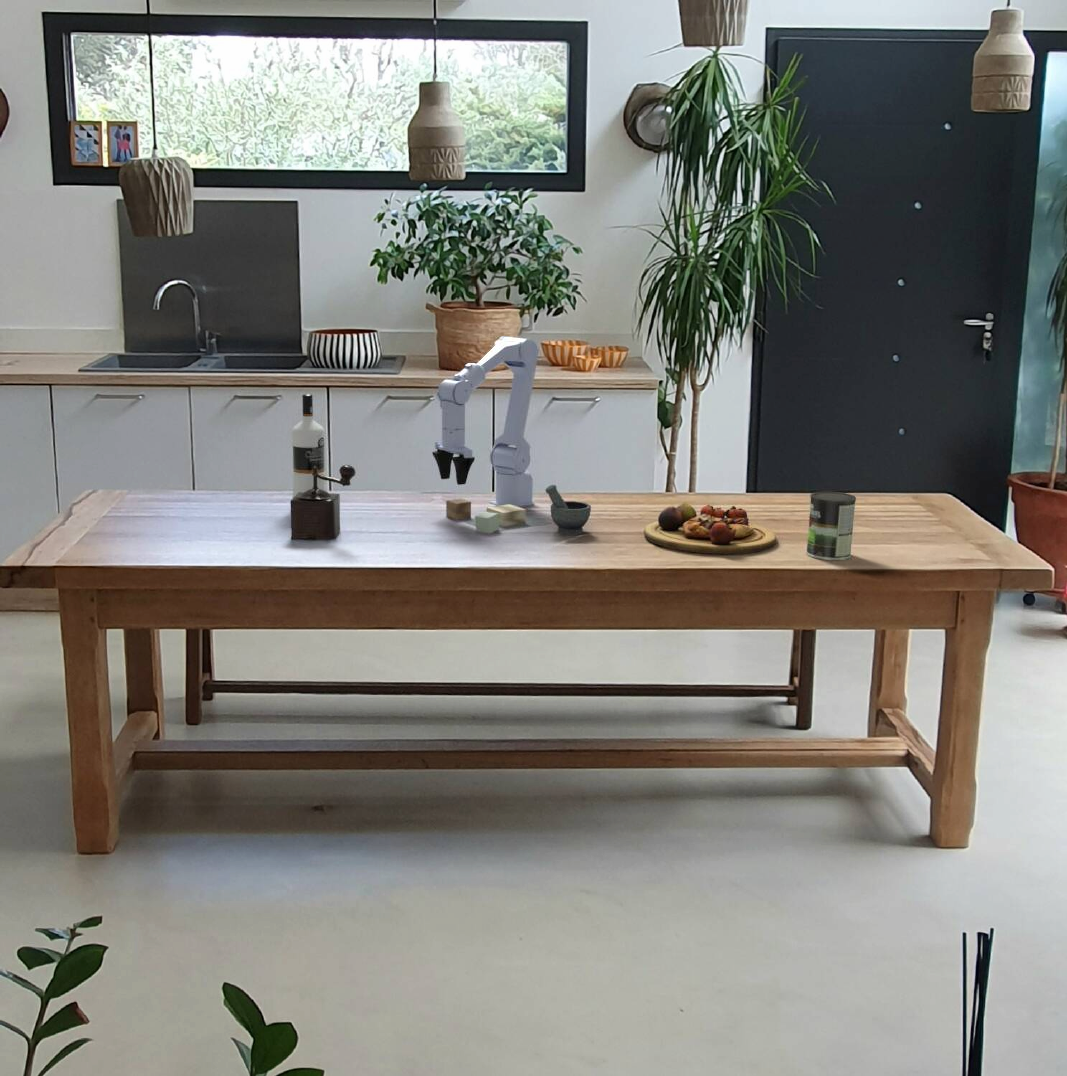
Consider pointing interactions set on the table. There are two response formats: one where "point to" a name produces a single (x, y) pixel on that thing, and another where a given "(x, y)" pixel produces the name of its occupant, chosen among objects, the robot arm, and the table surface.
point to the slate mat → (529, 523)
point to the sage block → (487, 522)
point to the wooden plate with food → (708, 531)
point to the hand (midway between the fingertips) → (453, 481)
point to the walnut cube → (458, 509)
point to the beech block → (509, 514)
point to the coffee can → (830, 525)
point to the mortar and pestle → (568, 513)
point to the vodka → (307, 450)
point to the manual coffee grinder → (318, 509)
